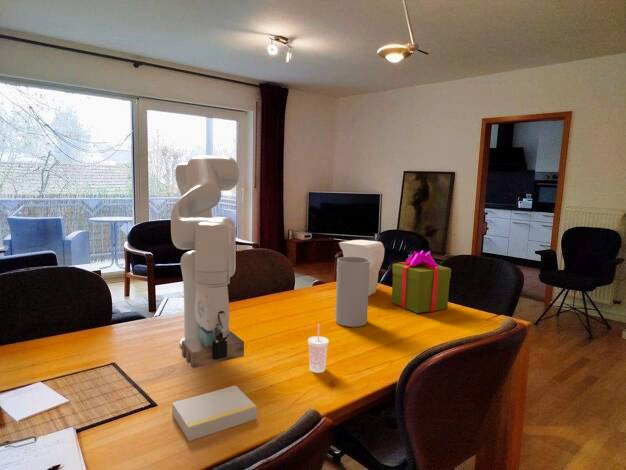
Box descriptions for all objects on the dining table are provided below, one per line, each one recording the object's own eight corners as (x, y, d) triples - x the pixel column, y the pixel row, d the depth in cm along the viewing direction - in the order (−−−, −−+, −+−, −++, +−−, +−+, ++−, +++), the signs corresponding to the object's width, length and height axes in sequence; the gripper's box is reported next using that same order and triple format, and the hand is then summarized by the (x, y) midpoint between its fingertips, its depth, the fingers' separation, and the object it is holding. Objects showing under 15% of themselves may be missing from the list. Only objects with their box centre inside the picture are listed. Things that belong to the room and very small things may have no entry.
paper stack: (329, 293, 209) (331, 241, 205) (364, 284, 227) (366, 236, 224) (363, 303, 194) (366, 247, 190) (397, 292, 213) (400, 242, 209)
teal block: (219, 335, 101) (219, 323, 101) (227, 342, 97) (227, 330, 97) (198, 339, 98) (198, 327, 98) (206, 347, 94) (206, 334, 94)
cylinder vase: (330, 324, 164) (332, 261, 161) (340, 315, 176) (343, 255, 172) (362, 329, 159) (365, 264, 156) (370, 319, 171) (373, 258, 168)
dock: (235, 396, 109) (235, 384, 109) (256, 418, 99) (256, 406, 99) (172, 414, 100) (172, 402, 100) (189, 441, 90) (188, 427, 90)
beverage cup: (320, 375, 122) (322, 328, 120) (303, 370, 125) (304, 324, 123) (331, 367, 127) (333, 322, 125) (314, 362, 130) (315, 318, 128)
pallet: (230, 345, 105) (230, 331, 104) (243, 356, 98) (244, 341, 98) (182, 355, 98) (181, 340, 97) (192, 368, 92) (192, 352, 91)
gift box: (414, 297, 205) (417, 245, 202) (452, 308, 189) (456, 252, 186) (385, 304, 192) (388, 249, 189) (424, 317, 176) (428, 257, 173)
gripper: (183, 270, 101) (184, 342, 103) (210, 287, 86) (211, 370, 89) (214, 267, 105) (214, 336, 107) (244, 283, 91) (244, 362, 93)
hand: (212, 351), depth 98 cm, fingers closed on pallet, 7 cm apart
